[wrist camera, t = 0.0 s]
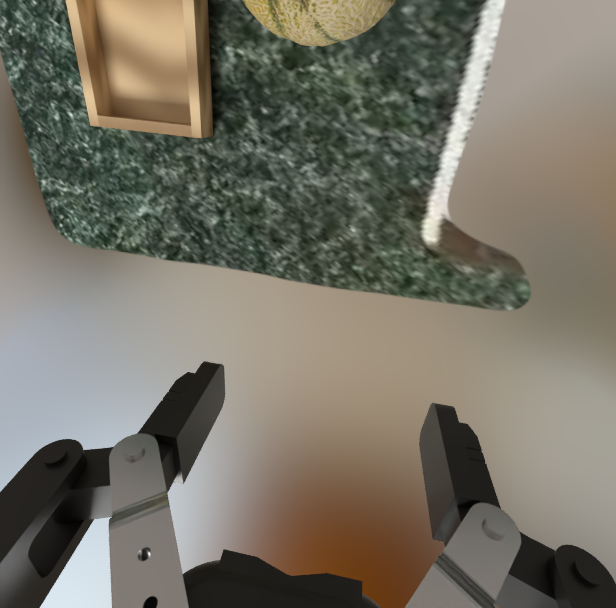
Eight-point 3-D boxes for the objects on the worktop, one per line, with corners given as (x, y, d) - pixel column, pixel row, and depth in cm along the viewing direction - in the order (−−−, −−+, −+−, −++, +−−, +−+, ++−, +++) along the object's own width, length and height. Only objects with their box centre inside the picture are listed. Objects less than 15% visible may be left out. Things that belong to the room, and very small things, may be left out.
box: (84, -20, 32) (59, -31, 30) (207, -11, 31) (192, -22, 29) (109, 124, 38) (90, 125, 36) (213, 136, 37) (201, 138, 35)
